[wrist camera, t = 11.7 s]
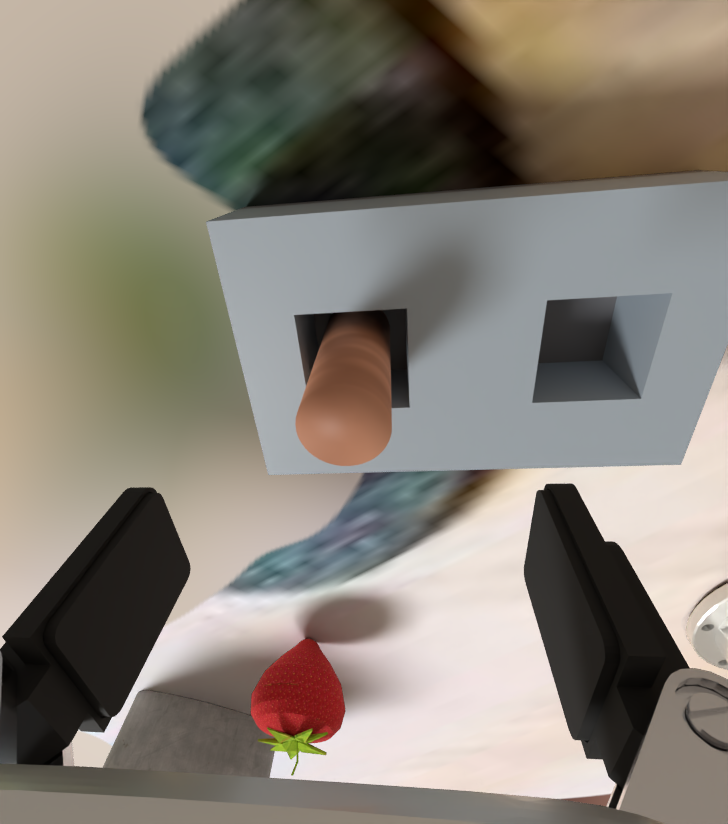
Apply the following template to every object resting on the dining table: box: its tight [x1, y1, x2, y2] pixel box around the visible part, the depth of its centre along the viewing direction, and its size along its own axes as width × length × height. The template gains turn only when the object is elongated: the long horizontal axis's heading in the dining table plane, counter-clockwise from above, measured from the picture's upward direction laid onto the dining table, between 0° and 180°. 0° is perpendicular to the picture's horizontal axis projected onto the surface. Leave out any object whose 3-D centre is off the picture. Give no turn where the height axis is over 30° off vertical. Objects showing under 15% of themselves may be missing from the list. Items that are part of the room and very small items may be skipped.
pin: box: [295, 310, 392, 466], centre depth 18 cm, size 3×3×9 cm
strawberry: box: [251, 639, 345, 775], centre depth 34 cm, size 6×8×10 cm
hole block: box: [206, 170, 728, 475], centre depth 20 cm, size 20×12×5 cm, turn 94°
